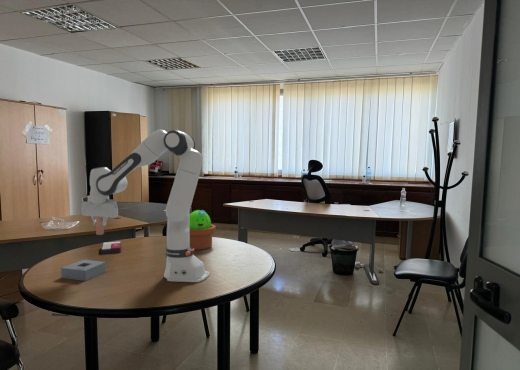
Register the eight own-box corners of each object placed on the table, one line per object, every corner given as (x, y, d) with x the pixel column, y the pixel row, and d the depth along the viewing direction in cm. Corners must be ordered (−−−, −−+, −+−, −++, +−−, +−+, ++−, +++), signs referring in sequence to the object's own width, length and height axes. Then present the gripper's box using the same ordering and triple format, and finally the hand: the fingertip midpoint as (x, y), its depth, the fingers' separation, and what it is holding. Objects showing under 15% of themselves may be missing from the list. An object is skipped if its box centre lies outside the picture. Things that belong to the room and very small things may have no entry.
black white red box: (101, 248, 205) (102, 241, 219) (101, 255, 206) (102, 248, 220) (120, 247, 209) (121, 240, 223) (120, 254, 210) (121, 246, 224)
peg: (105, 233, 177) (105, 210, 176) (100, 235, 173) (100, 211, 172) (99, 233, 178) (99, 210, 177) (94, 234, 174) (94, 211, 173)
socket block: (105, 271, 175) (105, 262, 174) (85, 280, 161) (85, 270, 161) (83, 268, 178) (83, 259, 178) (61, 277, 165) (61, 267, 165)
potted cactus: (180, 243, 234) (180, 207, 232) (212, 241, 240) (212, 206, 238) (183, 251, 213) (183, 212, 211) (218, 249, 219) (218, 211, 217)
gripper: (121, 199, 174) (121, 225, 175) (88, 196, 180) (88, 222, 181) (112, 200, 168) (112, 228, 169) (78, 198, 174) (79, 224, 175)
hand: (99, 225), depth 175 cm, fingers closed on peg, 3 cm apart
